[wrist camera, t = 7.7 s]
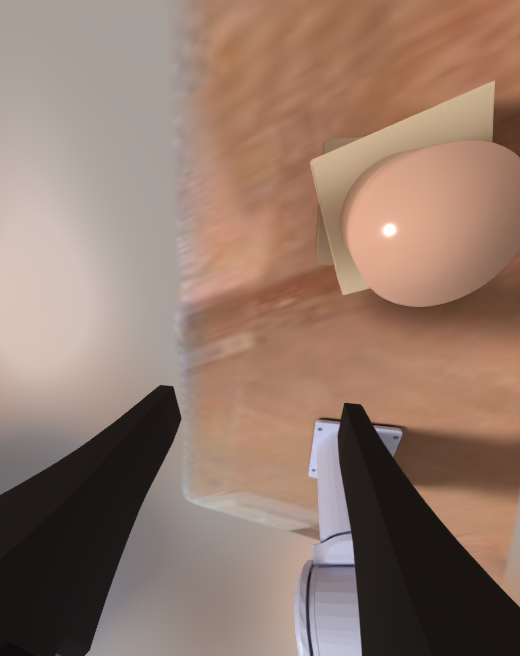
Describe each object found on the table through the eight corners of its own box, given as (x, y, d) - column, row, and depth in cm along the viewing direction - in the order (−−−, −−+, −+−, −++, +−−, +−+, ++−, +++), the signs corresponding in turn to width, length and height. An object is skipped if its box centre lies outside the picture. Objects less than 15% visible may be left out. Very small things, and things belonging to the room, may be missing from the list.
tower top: (452, 241, 13) (487, 257, 11) (336, 275, 15) (343, 295, 13) (449, 102, 11) (494, 80, 8) (310, 162, 13) (311, 159, 10)
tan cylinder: (436, 267, 11) (491, 308, 8) (334, 267, 12) (346, 304, 9) (475, 147, 9) (576, 134, 6) (347, 154, 10) (370, 145, 6)
